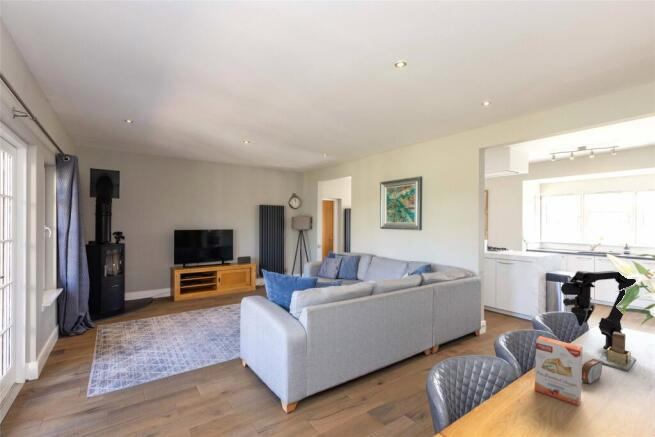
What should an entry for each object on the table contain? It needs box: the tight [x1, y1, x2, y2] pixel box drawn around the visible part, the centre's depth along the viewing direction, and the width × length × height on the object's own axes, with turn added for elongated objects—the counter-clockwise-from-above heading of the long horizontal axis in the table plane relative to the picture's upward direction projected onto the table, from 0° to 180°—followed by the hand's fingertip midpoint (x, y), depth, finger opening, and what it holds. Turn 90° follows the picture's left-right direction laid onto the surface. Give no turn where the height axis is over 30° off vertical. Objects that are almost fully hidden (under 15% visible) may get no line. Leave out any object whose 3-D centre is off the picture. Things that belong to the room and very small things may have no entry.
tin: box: [581, 358, 603, 385], centre depth 133 cm, size 15×3×8 cm, turn 120°
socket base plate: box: [597, 346, 637, 372], centre depth 152 cm, size 20×11×5 cm, turn 128°
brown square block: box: [612, 332, 626, 354], centre depth 152 cm, size 4×4×12 cm
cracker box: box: [534, 335, 583, 407], centre depth 121 cm, size 14×6×21 cm, turn 44°
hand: (582, 324), depth 166 cm, fingers open, 9 cm apart
